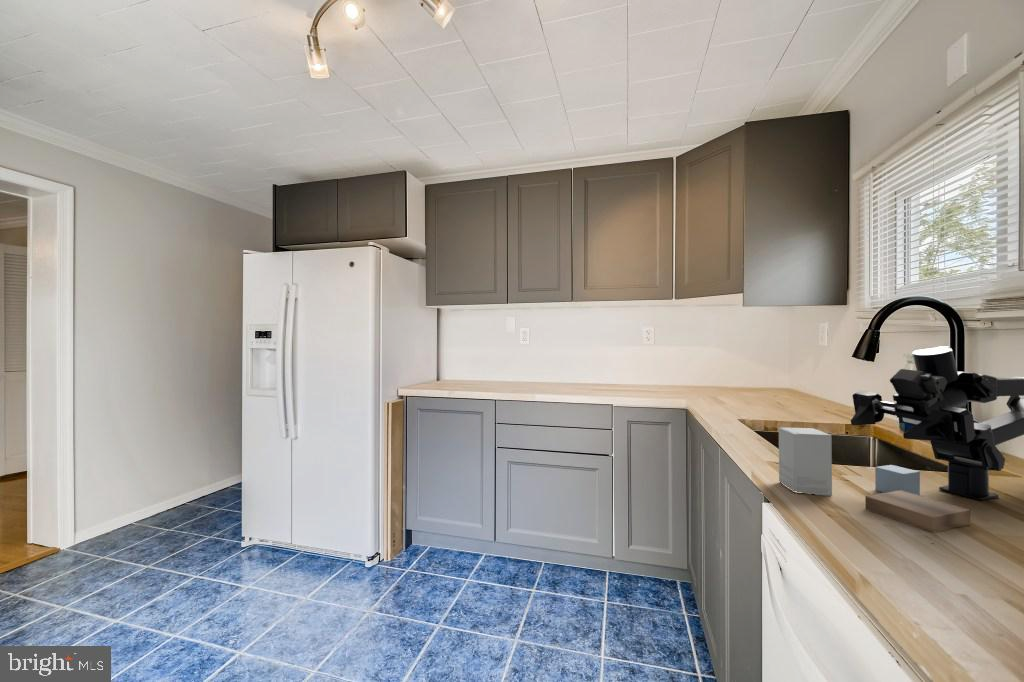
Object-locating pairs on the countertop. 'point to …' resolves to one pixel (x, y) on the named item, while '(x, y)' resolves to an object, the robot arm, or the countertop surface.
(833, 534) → the countertop surface
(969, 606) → the countertop surface
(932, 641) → the countertop surface
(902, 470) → the slate block
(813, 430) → the supplement box
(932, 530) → the walnut slab
